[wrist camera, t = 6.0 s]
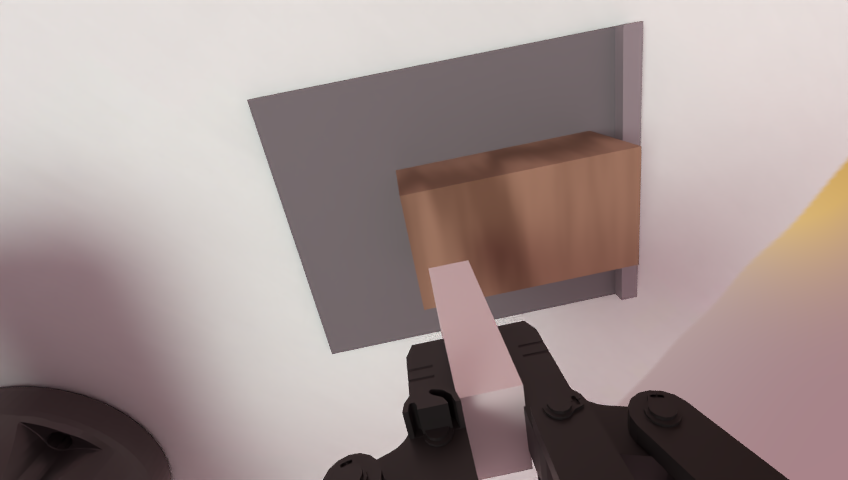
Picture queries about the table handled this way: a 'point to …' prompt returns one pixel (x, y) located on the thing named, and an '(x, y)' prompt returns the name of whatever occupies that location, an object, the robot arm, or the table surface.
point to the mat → (427, 143)
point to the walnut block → (526, 212)
